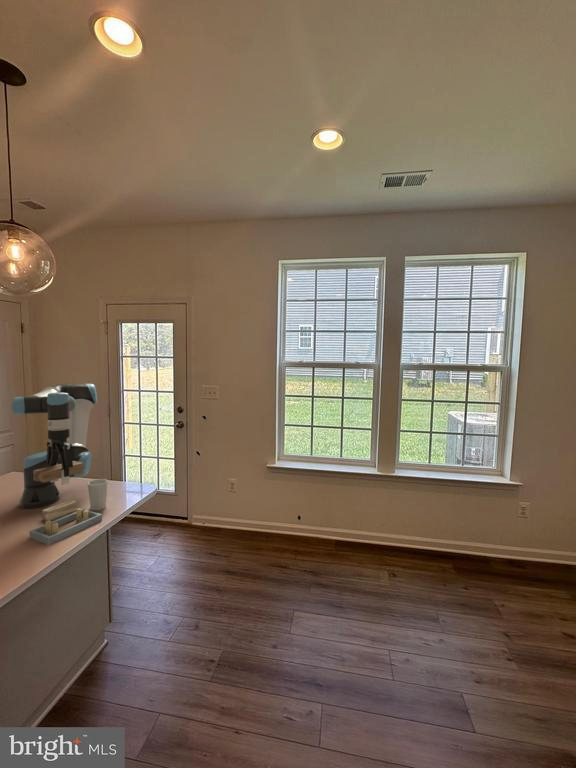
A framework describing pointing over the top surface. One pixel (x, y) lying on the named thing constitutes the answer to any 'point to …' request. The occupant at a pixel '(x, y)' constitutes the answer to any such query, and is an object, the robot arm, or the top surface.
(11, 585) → the top surface
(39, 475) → the board
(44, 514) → the block
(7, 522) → the top surface
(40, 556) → the top surface
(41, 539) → the frame
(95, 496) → the cup
